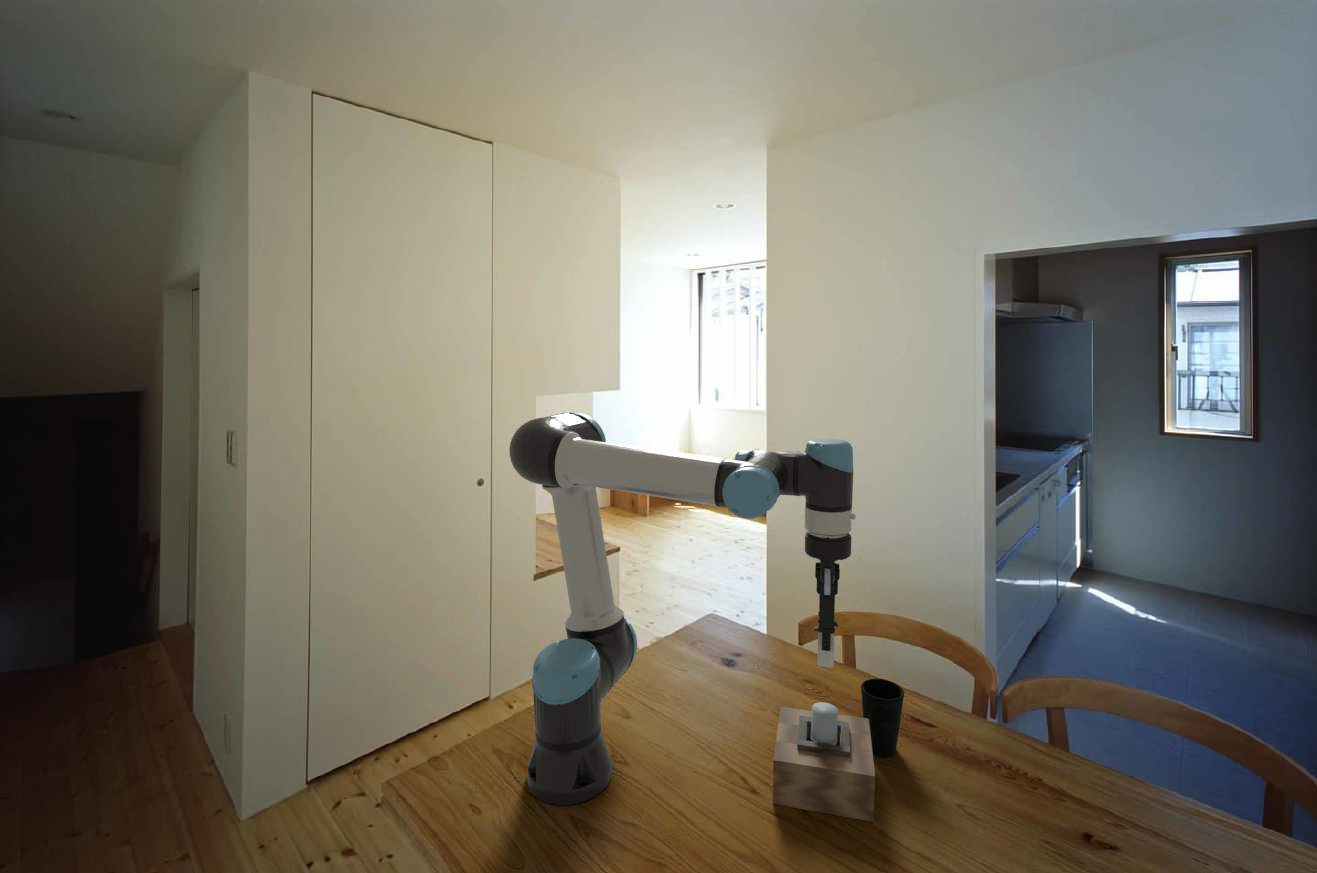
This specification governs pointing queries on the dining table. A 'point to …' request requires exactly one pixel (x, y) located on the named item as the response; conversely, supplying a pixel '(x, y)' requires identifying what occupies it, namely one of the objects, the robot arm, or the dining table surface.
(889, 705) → the cup
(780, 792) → the socket block
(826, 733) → the peg
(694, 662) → the dining table surface
